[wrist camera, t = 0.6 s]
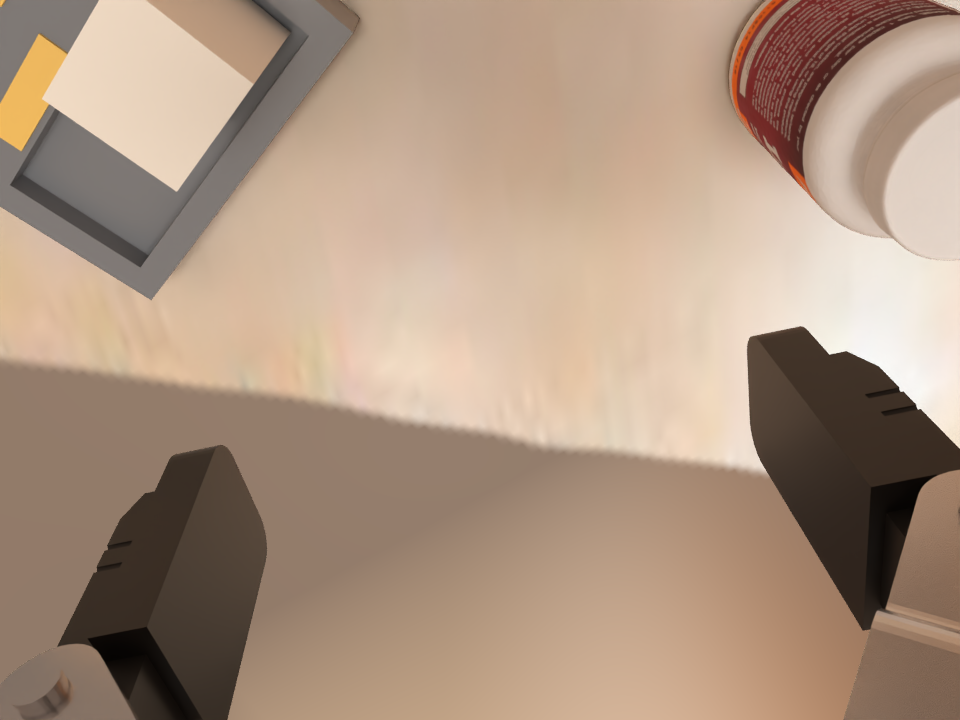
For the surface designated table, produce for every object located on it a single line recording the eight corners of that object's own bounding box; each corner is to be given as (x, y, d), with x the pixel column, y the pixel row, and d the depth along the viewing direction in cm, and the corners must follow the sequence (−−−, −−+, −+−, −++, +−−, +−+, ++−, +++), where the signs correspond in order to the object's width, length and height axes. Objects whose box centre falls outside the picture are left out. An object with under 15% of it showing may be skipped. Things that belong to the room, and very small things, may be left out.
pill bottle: (699, 128, 30) (808, 267, 21) (763, -52, 26) (927, 20, 17) (851, 158, 31) (1020, 303, 22) (932, -14, 27) (1173, 74, 18)
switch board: (-132, -411, 21) (-191, -433, 19) (359, 18, 27) (352, 33, 25) (-271, -8, 26) (-328, 6, 24) (167, 272, 33) (150, 301, 31)
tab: (181, -59, 24) (113, -26, 20) (290, 32, 26) (253, 84, 21) (119, 44, 26) (42, 98, 21) (225, 123, 28) (176, 191, 23)
